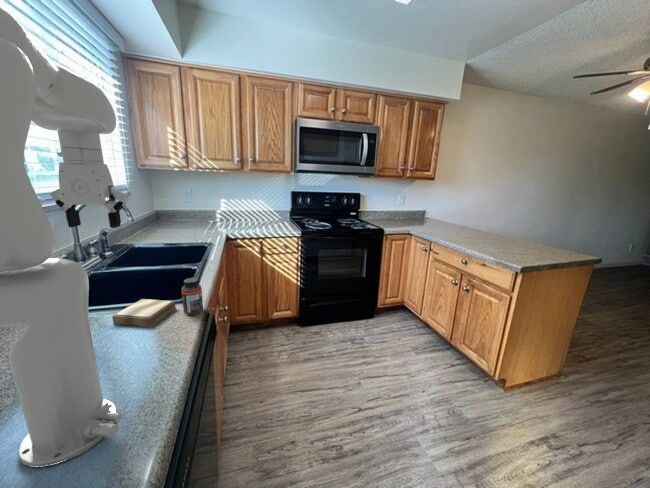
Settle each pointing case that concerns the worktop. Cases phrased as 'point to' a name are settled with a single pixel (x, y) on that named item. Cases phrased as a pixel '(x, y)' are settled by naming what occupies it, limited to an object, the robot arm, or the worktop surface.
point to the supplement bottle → (192, 297)
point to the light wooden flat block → (144, 313)
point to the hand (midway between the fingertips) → (95, 226)
